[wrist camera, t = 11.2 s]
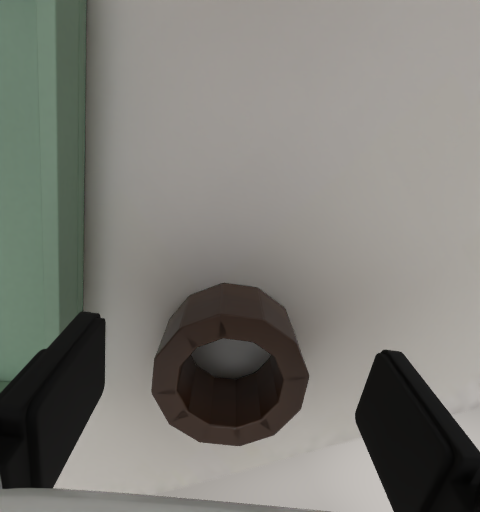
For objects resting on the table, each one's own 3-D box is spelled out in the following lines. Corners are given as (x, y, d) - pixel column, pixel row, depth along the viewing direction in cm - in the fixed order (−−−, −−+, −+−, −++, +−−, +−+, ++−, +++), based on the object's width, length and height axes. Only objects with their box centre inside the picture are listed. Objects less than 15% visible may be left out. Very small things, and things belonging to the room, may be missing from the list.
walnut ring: (173, 275, 14) (158, 305, 11) (305, 293, 15) (322, 327, 12) (162, 387, 16) (147, 437, 13) (280, 400, 16) (290, 452, 14)
